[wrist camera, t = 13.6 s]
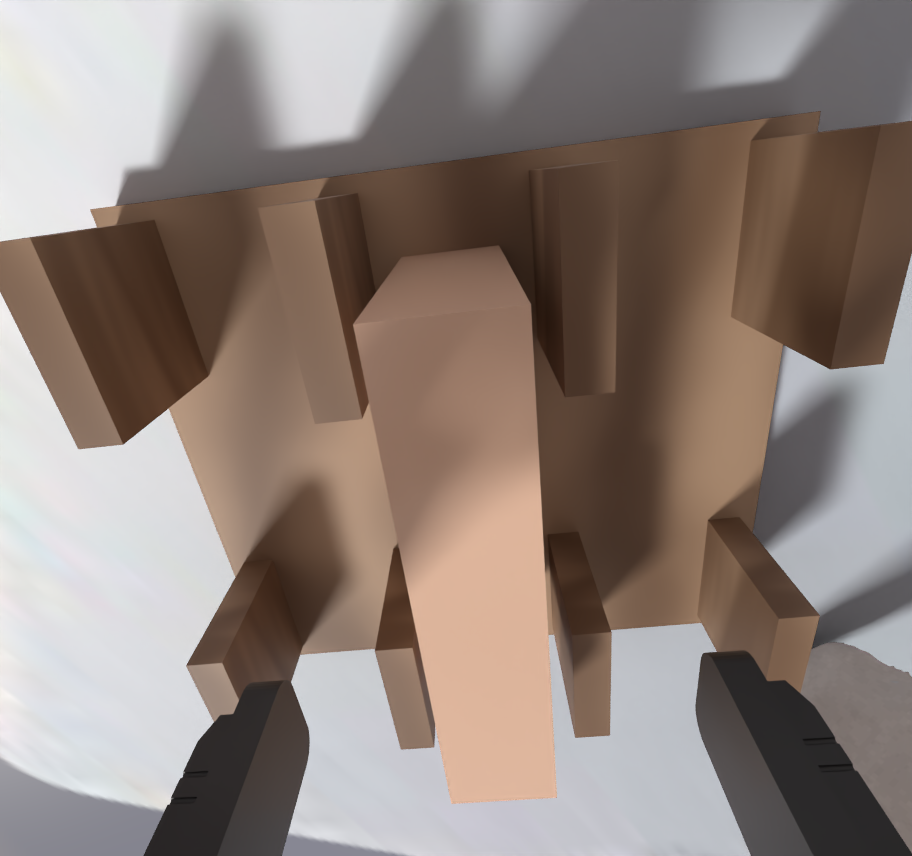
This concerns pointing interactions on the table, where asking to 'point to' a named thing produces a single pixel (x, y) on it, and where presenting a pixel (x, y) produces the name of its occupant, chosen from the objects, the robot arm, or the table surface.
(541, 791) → the peach rectangular block
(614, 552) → the drying rack
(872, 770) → the stone tool
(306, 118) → the table surface
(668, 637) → the table surface
